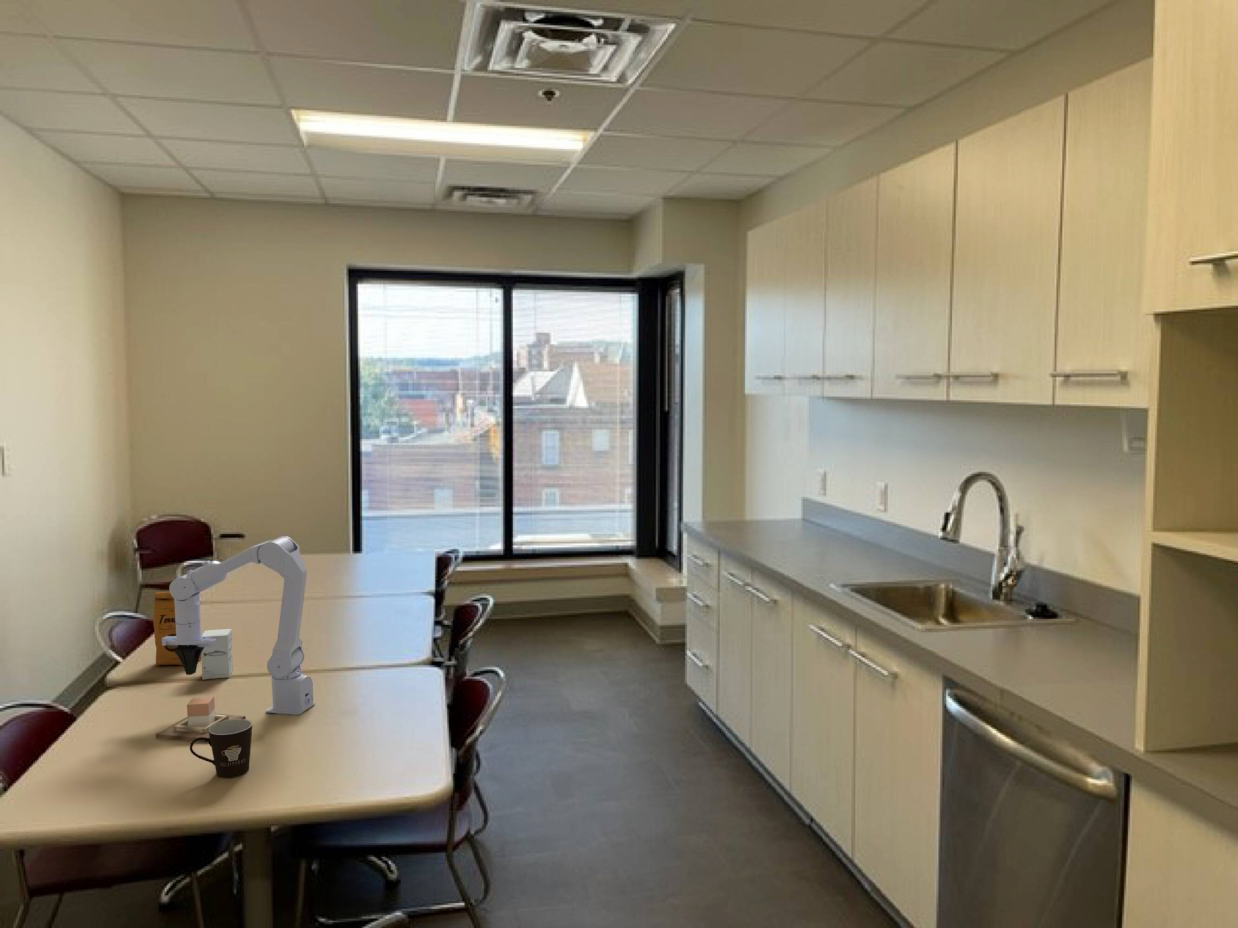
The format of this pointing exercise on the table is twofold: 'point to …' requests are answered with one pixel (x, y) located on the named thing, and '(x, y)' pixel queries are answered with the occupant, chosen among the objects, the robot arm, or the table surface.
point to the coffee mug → (229, 747)
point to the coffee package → (165, 629)
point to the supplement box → (218, 655)
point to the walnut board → (192, 729)
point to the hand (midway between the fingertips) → (190, 673)
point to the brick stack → (201, 711)
